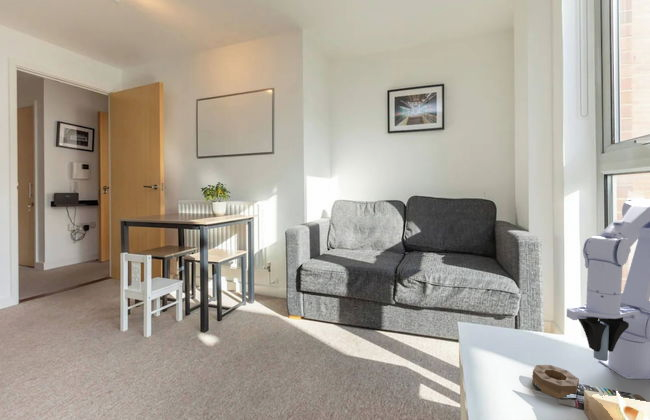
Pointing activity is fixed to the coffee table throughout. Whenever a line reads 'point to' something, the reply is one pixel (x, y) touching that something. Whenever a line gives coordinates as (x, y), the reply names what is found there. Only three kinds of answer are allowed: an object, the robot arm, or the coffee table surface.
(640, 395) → the coffee table surface
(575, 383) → the wooden octagonal ring
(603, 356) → the dowel
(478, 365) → the coffee table surface
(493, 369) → the coffee table surface
